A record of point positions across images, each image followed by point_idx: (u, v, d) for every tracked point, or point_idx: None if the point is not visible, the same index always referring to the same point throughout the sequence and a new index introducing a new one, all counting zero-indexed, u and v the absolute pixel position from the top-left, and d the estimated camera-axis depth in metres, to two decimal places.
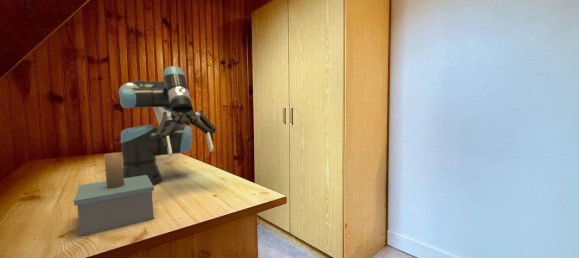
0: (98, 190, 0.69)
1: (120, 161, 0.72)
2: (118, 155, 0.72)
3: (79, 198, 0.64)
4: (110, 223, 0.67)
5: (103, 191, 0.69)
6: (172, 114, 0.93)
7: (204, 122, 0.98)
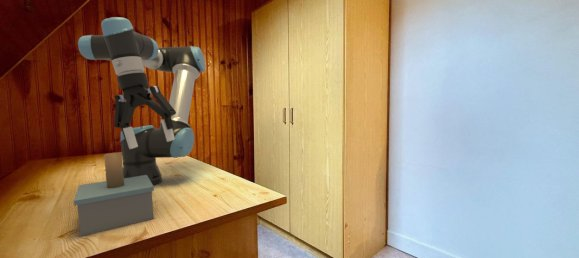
0: (98, 190, 0.69)
1: (120, 161, 0.72)
2: (118, 155, 0.72)
3: (79, 198, 0.64)
4: (110, 223, 0.67)
5: (103, 191, 0.69)
6: (124, 97, 0.77)
7: None
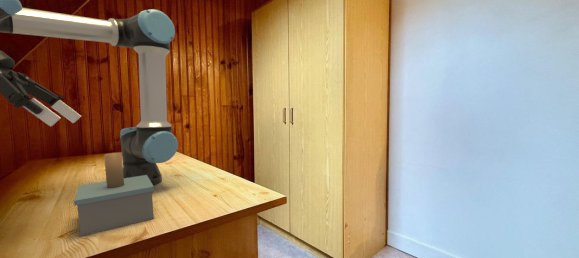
0: (98, 190, 0.69)
1: (120, 161, 0.72)
2: (118, 155, 0.72)
3: (79, 198, 0.64)
4: (110, 223, 0.67)
5: (103, 191, 0.69)
6: None
7: None
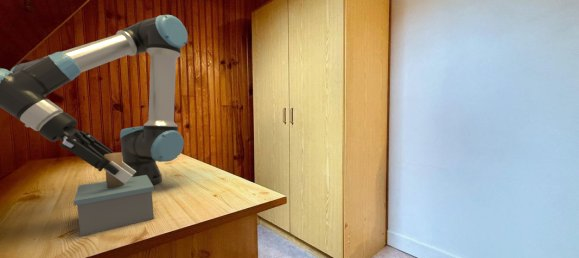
0: (98, 190, 0.69)
1: (120, 161, 0.72)
2: (118, 155, 0.72)
3: (79, 198, 0.64)
4: (110, 223, 0.67)
5: (103, 191, 0.69)
6: None
7: None
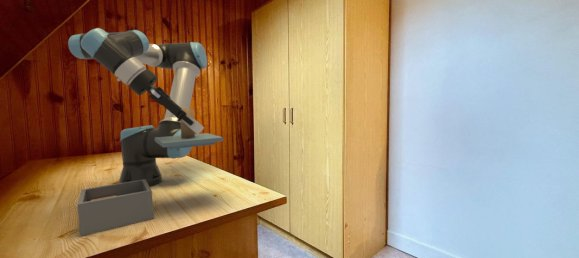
0: (176, 139, 0.79)
1: (193, 115, 0.82)
2: (192, 109, 0.81)
3: (166, 142, 0.73)
4: (110, 223, 0.67)
5: (181, 139, 0.78)
6: None
7: None
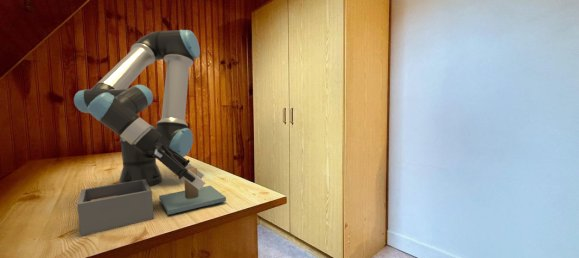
0: (180, 200, 0.81)
1: (196, 175, 0.84)
2: (195, 170, 0.83)
3: (170, 208, 0.75)
4: (110, 223, 0.67)
5: (185, 201, 0.80)
6: None
7: None
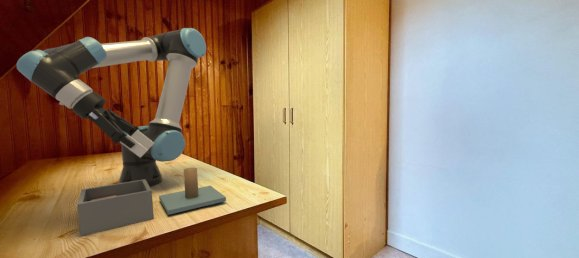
0: (180, 200, 0.81)
1: (196, 175, 0.84)
2: (195, 170, 0.83)
3: (170, 208, 0.75)
4: (110, 223, 0.67)
5: (185, 201, 0.80)
6: None
7: None
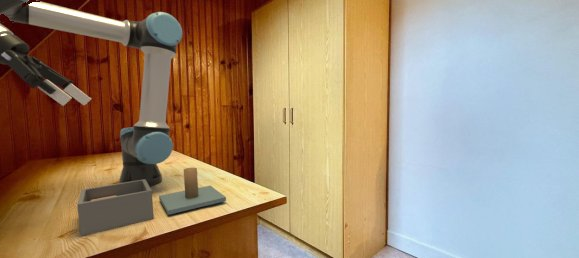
0: (180, 200, 0.81)
1: (196, 175, 0.84)
2: (195, 170, 0.83)
3: (170, 208, 0.75)
4: (110, 223, 0.67)
5: (185, 201, 0.80)
6: None
7: None
